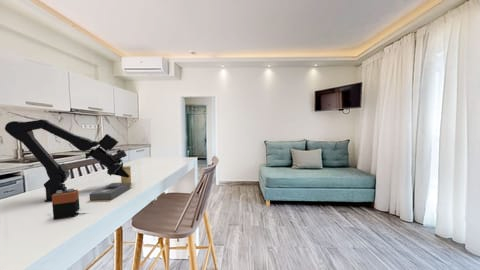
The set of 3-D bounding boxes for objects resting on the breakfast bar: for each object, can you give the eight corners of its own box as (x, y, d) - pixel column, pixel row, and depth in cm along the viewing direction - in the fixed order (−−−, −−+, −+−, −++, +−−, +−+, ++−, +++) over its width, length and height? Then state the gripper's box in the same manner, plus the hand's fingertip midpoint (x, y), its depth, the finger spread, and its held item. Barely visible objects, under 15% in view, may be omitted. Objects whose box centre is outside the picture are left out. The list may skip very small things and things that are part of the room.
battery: (75, 216, 77) (73, 190, 76) (52, 220, 75) (50, 192, 74) (80, 212, 81) (78, 186, 81) (58, 215, 79) (56, 189, 78)
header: (85, 206, 87) (84, 195, 87) (113, 190, 107) (113, 181, 107) (109, 205, 87) (108, 194, 87) (133, 190, 107) (132, 181, 107)
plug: (121, 187, 107) (120, 168, 107) (121, 186, 111) (120, 167, 110) (131, 186, 109) (130, 167, 109) (131, 184, 113) (130, 166, 112)
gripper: (113, 147, 99) (140, 167, 104) (117, 144, 115) (140, 161, 121) (95, 165, 96) (123, 185, 101) (100, 159, 112) (125, 176, 118)
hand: (129, 176), depth 110 cm, fingers closed on plug, 4 cm apart
